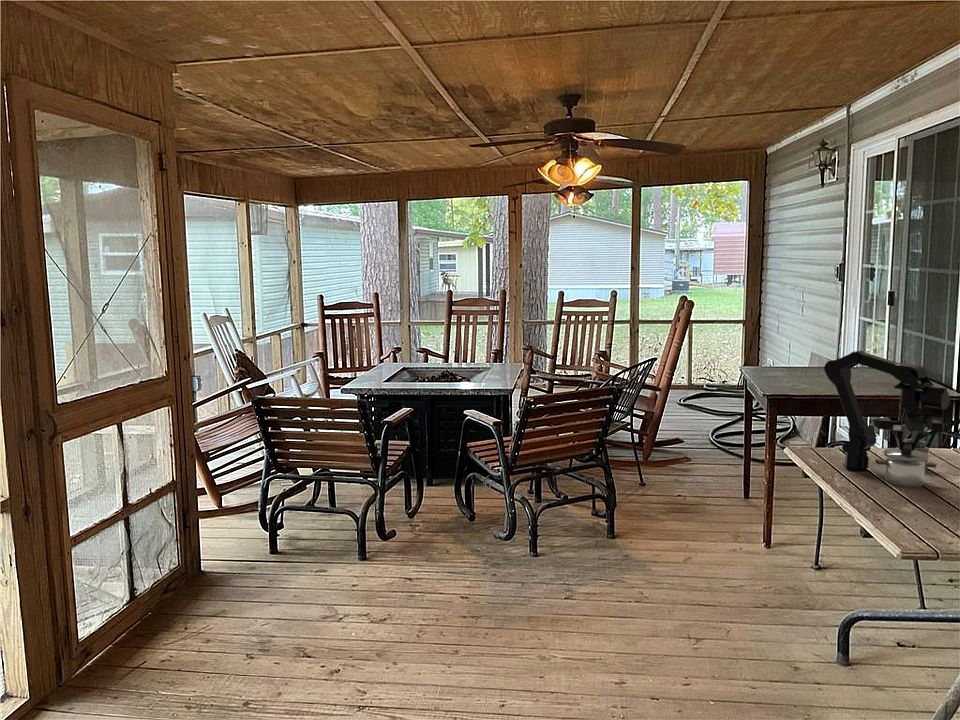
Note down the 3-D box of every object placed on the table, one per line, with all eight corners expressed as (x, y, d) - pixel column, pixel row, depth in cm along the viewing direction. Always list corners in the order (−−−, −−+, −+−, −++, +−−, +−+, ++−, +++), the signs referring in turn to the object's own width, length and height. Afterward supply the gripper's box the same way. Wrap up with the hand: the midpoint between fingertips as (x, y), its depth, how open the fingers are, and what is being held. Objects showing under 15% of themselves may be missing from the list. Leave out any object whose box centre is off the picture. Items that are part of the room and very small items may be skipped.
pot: (880, 484, 226) (881, 463, 225) (870, 474, 237) (872, 454, 236) (939, 488, 222) (941, 467, 221) (927, 477, 232) (928, 457, 231)
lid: (890, 460, 224) (891, 445, 223) (879, 449, 236) (880, 435, 235) (934, 463, 221) (935, 447, 220) (920, 452, 232) (921, 437, 232)
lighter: (927, 467, 243) (929, 440, 241) (927, 470, 240) (929, 442, 238) (900, 464, 247) (902, 437, 246) (899, 466, 244) (902, 439, 243)
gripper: (885, 407, 220) (882, 455, 222) (953, 410, 215) (948, 459, 218) (875, 400, 231) (872, 446, 233) (939, 403, 226) (935, 449, 228)
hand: (906, 450), depth 228 cm, fingers closed on lid, 3 cm apart
